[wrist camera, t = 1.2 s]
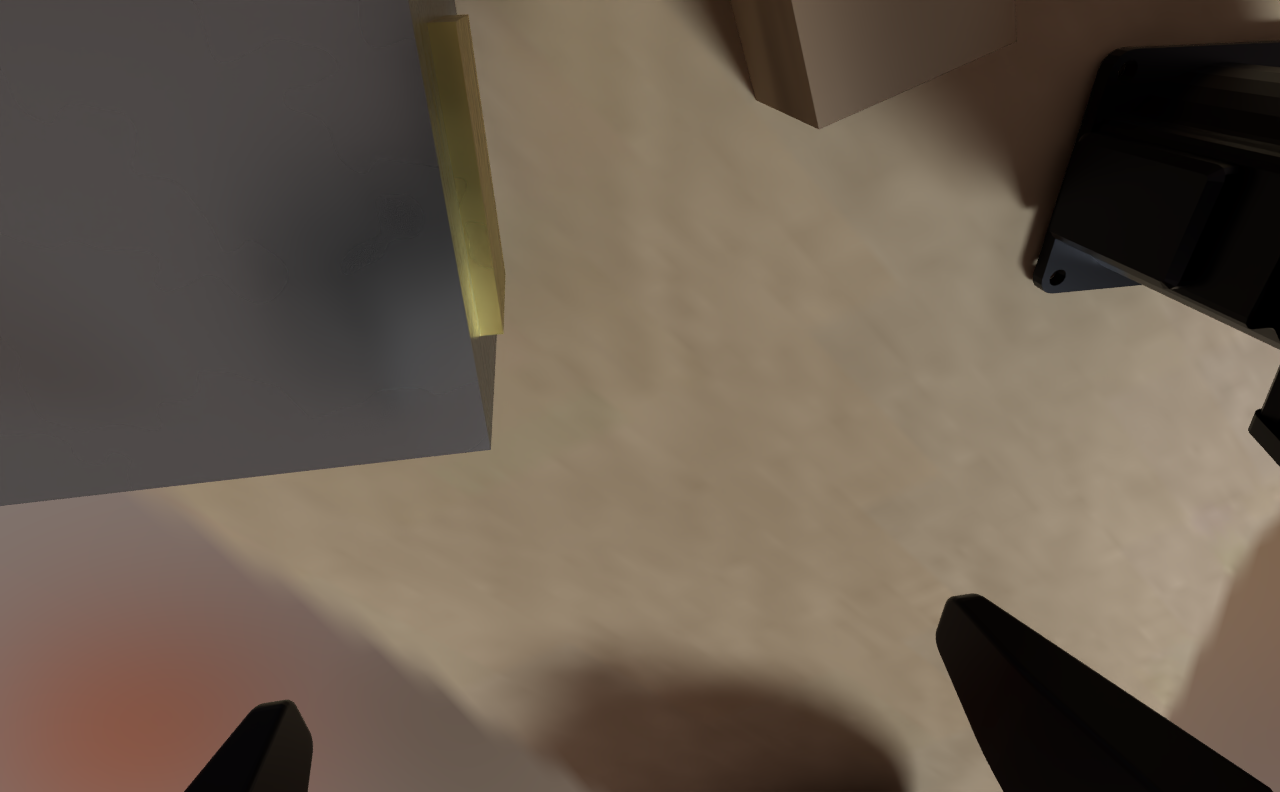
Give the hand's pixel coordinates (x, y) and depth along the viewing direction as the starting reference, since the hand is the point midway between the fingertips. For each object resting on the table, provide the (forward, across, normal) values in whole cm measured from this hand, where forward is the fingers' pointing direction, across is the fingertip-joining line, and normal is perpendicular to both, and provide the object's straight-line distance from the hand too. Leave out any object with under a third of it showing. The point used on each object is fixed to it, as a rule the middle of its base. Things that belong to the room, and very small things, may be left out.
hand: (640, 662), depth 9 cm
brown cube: (+11, -6, -8) cm, 15 cm away
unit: (+11, +7, -5) cm, 14 cm away
